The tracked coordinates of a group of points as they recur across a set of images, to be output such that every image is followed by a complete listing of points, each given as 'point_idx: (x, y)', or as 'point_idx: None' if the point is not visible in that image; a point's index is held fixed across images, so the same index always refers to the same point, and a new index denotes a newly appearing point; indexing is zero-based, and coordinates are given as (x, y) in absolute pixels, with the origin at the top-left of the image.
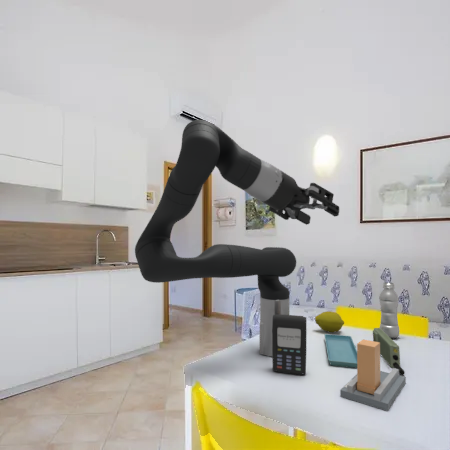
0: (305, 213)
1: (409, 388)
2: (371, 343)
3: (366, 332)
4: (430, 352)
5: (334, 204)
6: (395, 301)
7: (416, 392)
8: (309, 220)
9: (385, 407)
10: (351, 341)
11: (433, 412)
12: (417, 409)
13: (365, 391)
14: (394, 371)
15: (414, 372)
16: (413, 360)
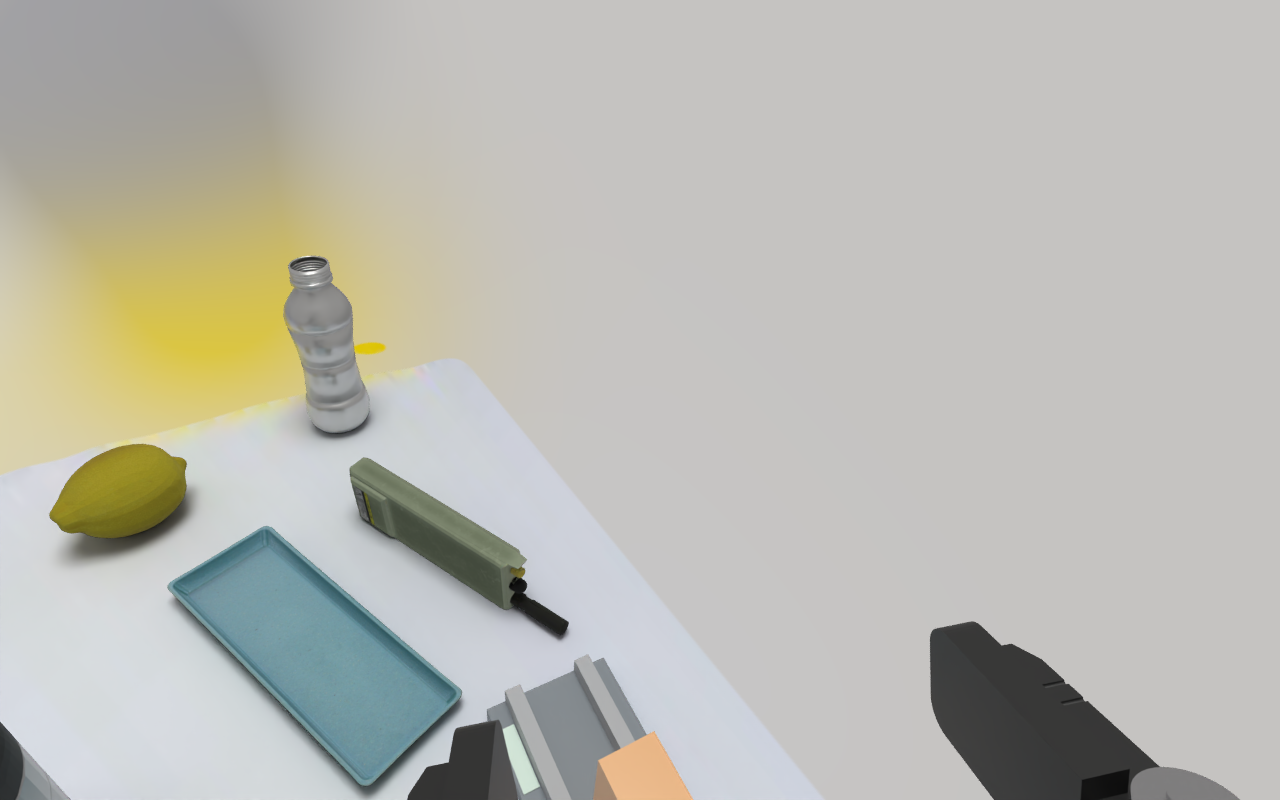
0: (491, 793)
1: (631, 689)
2: (652, 773)
3: (258, 433)
4: (489, 439)
5: (1098, 721)
6: (349, 322)
7: (657, 693)
8: (511, 772)
9: None
10: (298, 558)
11: (760, 759)
12: (737, 786)
13: None
14: (594, 680)
15: (561, 584)
16: (502, 516)
